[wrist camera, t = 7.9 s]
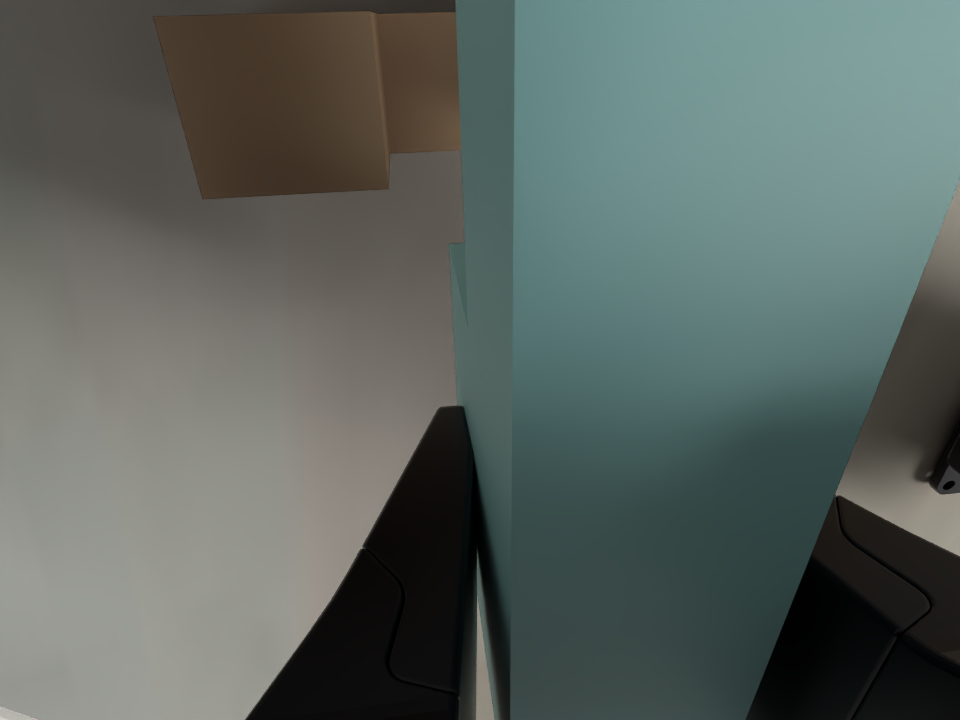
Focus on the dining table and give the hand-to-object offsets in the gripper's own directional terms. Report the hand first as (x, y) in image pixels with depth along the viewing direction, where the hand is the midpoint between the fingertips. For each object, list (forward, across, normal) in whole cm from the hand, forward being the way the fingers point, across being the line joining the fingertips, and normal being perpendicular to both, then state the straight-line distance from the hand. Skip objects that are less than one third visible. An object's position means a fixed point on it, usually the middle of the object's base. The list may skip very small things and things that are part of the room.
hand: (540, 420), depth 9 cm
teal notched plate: (+2, 0, -5) cm, 5 cm away
